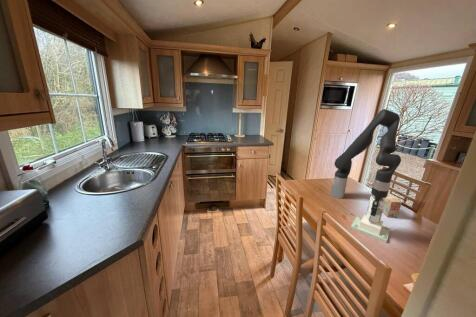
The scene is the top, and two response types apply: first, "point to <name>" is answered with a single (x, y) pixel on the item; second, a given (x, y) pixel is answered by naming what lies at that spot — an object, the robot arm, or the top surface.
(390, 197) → the cardboard box
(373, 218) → the white tall block
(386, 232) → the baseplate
